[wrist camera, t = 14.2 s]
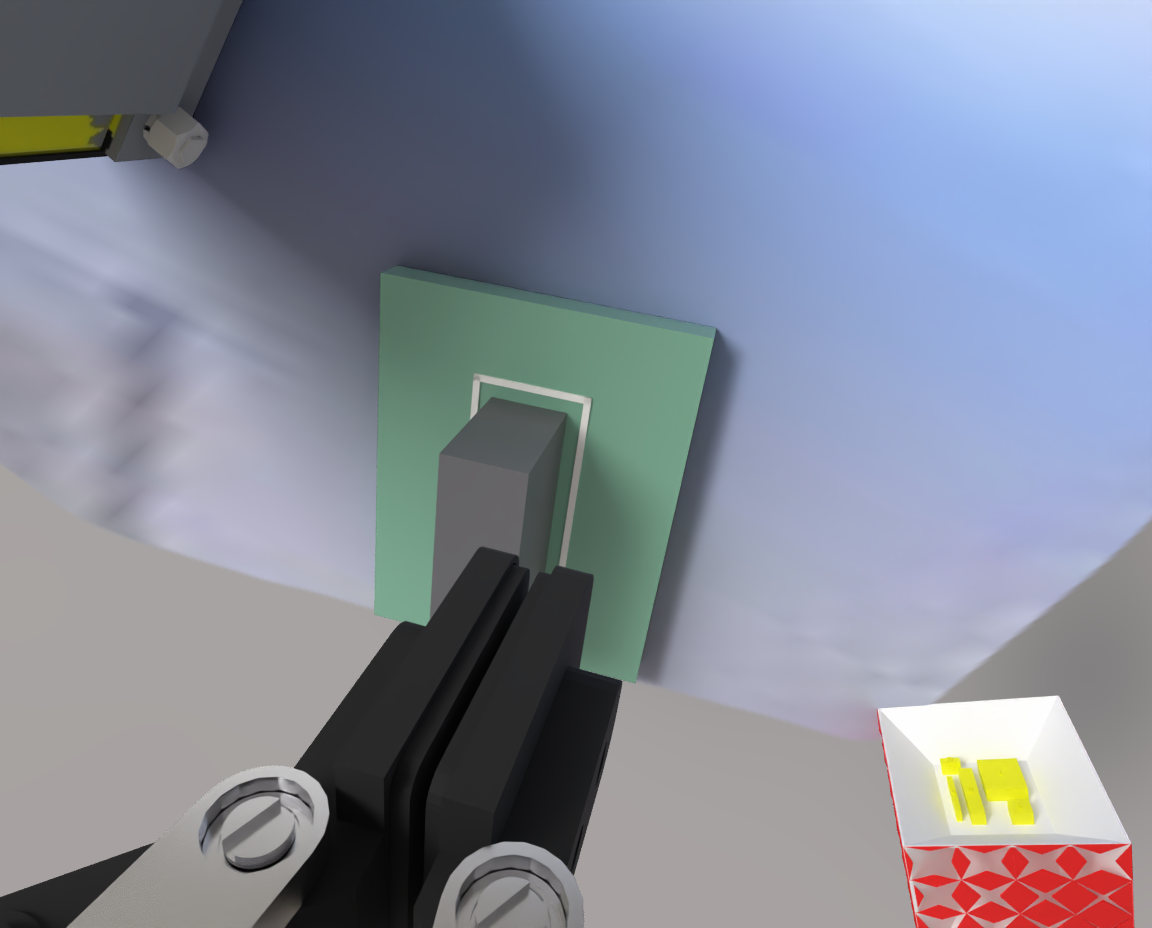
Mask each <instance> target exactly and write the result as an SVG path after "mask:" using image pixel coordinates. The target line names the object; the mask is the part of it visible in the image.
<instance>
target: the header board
mask: <svg viewBox="0 0 1152 928" xmlns="http://www.w3.org/2000/svg"><path fill="white" fill-rule="evenodd" d="M715 332H716V328H714V327H709V326H704V325H699V324H694V323H689V322H684V321H678V320H673V319H668V318H663V317H658V316H653V315H648V314H643V313H638V312H632V311H627V310H622V309H617V308H612V307H607V306H602V305H597V304H592V303H586V302H581V301H576V300H571V299H566V298H561V297H556V296H551V295H546V294H541V293H535V292H530V291H525V290H520V289H515V288H510V287H505V286H500V285H495V284H489V283H484V282H479V281H474V280H469V279H464V278H459V277H454V276H449V275H444V274H438V273H433V272H428V271H423V270H418V269H413V268H408V267H403V266H398V265H397V266H394V267H392V268H390V269H388V270H385V271H383V272H381V273H380V327H379V383H378V438H377V494H376V549H375V605H374V614H375V615H378V616H382V617H385V618H389V619H393V620H397V621H400V622H404V621H408V622H412V623H416V624H419V625H423V626H426V625H427V624H428V622H429V621H430V605H431V588H432V571H433V553H434V536H435V519H436V502H437V484H438V467H439V453H440V452H441V451H442V450H443V449H444V448H445V447H446V446H447V445H448V444H449V442H450V441H451V440H452V439H453V438H454V437H455V436H456V435H457V434H458V433H459V432H460V430H461V429H462V428H463V427H464V426H465V425H466V424H467V423H468V422H469V421H470V420H471V419H472V417H473V416H474V415H475V414H476V413H477V412H478V411H479V410H480V409H481V408H482V407H483V406H484V404H485V403H486V402H487V401H488V400H489V399H490V398H491V397H495V398H499V399H504V400H509V401H513V402H518V403H523V404H527V405H532V406H537V407H541V408H546V409H551V410H555V411H560V412H565V413H567V419H566V426H565V433H564V440H563V447H562V455H561V462H560V469H559V476H558V483H557V490H556V497H555V504H554V512H553V519H552V526H551V533H550V540H549V547H548V554H547V561H546V568H545V573H548V574H551V573H552V571H553V569H554V568H555V566H557V565H558V566H562V567H566V568H570V569H574V570H577V571H581V572H585V573H589V574H593V575H594V581H593V589H592V595H591V601H590V607H589V613H588V620H587V626H586V632H585V638H584V645H583V651H582V657H581V663H580V669H582V670H586V671H590V672H594V673H598V674H601V675H605V676H609V677H613V678H617V679H620V680H624V681H628V682H632V683H636V679H637V675H638V670H639V666H640V661H641V657H642V653H643V648H644V644H645V640H646V635H647V631H648V626H649V622H650V618H651V613H652V609H653V605H654V600H655V596H656V591H657V587H658V583H659V578H660V574H661V569H662V565H663V561H664V556H665V552H666V548H667V543H668V539H669V534H670V530H671V526H672V521H673V517H674V513H675V508H676V504H677V499H678V495H679V491H680V486H681V482H682V477H683V473H684V469H685V464H686V460H687V456H688V451H689V447H690V442H691V438H692V434H693V429H694V425H695V421H696V416H697V412H698V407H699V403H700V399H701V394H702V390H703V385H704V381H705V377H706V372H707V368H708V364H709V359H710V355H711V350H712V346H713V342H714V337H715Z"/></svg>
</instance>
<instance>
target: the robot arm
mask: <svg viewBox="0 0 1152 928" xmlns="http://www.w3.org/2000/svg"><path fill="white" fill-rule="evenodd" d="M529 580H530V570H529V569H528V568H525V567H521V566H519V557H518V556H517V555H515V554H511V553H507V552H503V551H499V550H495V549H491V548H487V547H483V546H482V547H479V548H478V550H477V551H476V552H475V554H474V555H473V557H472V558H471V560H470V561H469V563H468V564H467V566H466V567H465V569H464V570H463V572H462V573H461V574H460V576H459V577H458V579H457V580H456V582H455V583H454V585H453V586H452V588H451V589H450V591H449V592H448V594H447V595H446V597H445V598H444V600H443V601H442V603H441V604H440V606H439V607H438V609H437V610H436V612H435V613H434V615H433V616H432V618H431V619H430V621H429V622H428V624H427V625H426V626H423V625H419V624H416V623H412V622H408V621H404V622H402V623H400V624H399V625H398V626H397V627H396V628H395V630H394V631H393V632H392V633H391V635H390V636H389V638H388V639H387V640H386V642H385V643H384V644H383V646H382V647H381V649H380V650H379V652H378V653H377V654H376V656H375V657H374V658H373V660H372V661H371V662H370V664H369V665H368V667H367V668H366V669H365V671H364V672H363V674H362V675H361V676H360V678H359V679H358V680H357V682H356V683H355V685H354V686H353V687H352V689H351V690H350V691H349V693H348V694H347V695H346V697H345V698H344V700H343V701H342V702H341V704H340V705H339V706H338V708H337V709H336V711H335V712H334V714H333V715H332V716H331V718H330V719H329V721H328V722H327V723H326V725H325V726H324V727H323V729H322V730H321V731H320V733H319V734H318V736H317V737H316V738H315V740H314V741H313V743H312V744H311V745H310V746H309V748H308V749H307V751H306V752H305V753H304V755H303V756H302V758H301V759H300V760H299V762H298V763H297V765H296V766H295V767H294V768H291V767H287V766H262V767H258V768H253V769H249V770H244V771H242V772H240V773H238V774H236V775H234V776H231V777H229V778H227V779H225V780H223V781H222V782H220V783H219V784H218V785H216V787H214V788H213V789H211V790H210V791H209V792H207V793H206V794H205V795H204V796H203V797H202V798H201V799H200V800H199V801H198V802H196V803H195V804H194V805H193V806H192V807H191V808H190V809H189V810H188V811H187V812H186V813H185V814H184V815H183V816H182V817H181V818H180V819H179V820H178V821H177V822H176V823H175V824H174V825H173V826H172V827H170V828H169V829H168V830H167V831H166V832H165V833H164V834H163V835H162V836H161V837H160V838H159V839H158V840H157V841H156V842H155V843H152V844H149V845H146V846H143V847H140V848H138V849H135V850H132V851H129V852H126V853H123V854H121V855H118V856H115V857H112V858H109V859H107V860H104V861H101V862H98V863H96V864H93V865H90V866H87V867H84V868H81V869H78V870H76V871H73V872H70V873H67V874H64V875H62V876H59V877H56V878H53V879H50V880H48V881H45V882H42V883H39V884H36V885H34V886H31V887H28V888H25V889H22V890H19V891H17V892H14V893H11V894H8V895H5V896H3V897H0V928H583V927H584V910H583V897H582V895H581V892H580V890H579V887H578V884H577V882H576V879H575V877H574V873H575V869H576V866H577V862H578V859H579V855H580V851H581V848H582V844H583V841H584V837H585V833H586V830H587V826H588V823H589V819H590V816H591V812H592V809H593V805H594V801H595V798H596V794H597V791H598V787H599V783H600V780H601V776H602V772H603V769H604V764H605V760H606V757H607V752H608V749H609V745H610V740H611V736H612V731H613V727H614V722H615V718H616V713H617V708H618V703H619V698H620V693H621V687H622V681H621V680H618V679H614V678H611V677H607V676H603V675H600V674H596V673H592V672H589V671H585V670H582V669H580V663H581V657H582V651H583V645H584V638H585V632H586V626H587V620H588V613H589V607H590V601H591V595H592V589H593V581H594V575H593V574H589V573H585V572H581V571H577V570H574V569H570V568H566V567H562V566H558V565H557V566H555V568H554V569H553V571H552V573H551V574H548V573H544V572H539V573H538V574H537V576H536V578H535V580H534V582H533V584H532V586H531V588H530V589H529ZM528 589H529V591H528Z"/></svg>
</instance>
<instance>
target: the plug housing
mask: <svg viewBox="0 0 1152 928" xmlns="http://www.w3.org/2000/svg"><path fill="white" fill-rule="evenodd" d="M566 419H567V413H565V412H560V411H555V410H551V409H546V408H541V407H537V406H532V405H527V404H523V403H518V402H513V401H509V400H504V399H499V398H495V397H491V398H490V399H489V400H488V401H487V402H486V403H485V404H484V406H483V407H482V408H481V409H480V410H479V411H478V412H477V413H476V414H475V415H474V416H473V417H472V419H471V420H470V421H469V422H468V423H467V424H466V425H465V426H464V427H463V428H462V429H461V430H460V432H459V433H458V434H457V435H456V436H455V437H454V438H453V439H452V440H451V441H450V442H449V444H448V445H447V446H446V447H445V448H444V449H443V450H442V451H441V452H440V453H439V467H438V484H437V502H436V519H435V536H434V553H433V571H432V588H431V605H430V619H431V618H432V616H433V615H434V613H435V612H436V610H437V609H438V607H439V606H440V604H441V603H442V601H443V600H444V598H445V597H446V595H447V594H448V592H449V591H450V589H451V588H452V586H453V585H454V583H455V582H456V580H457V579H458V577H459V576H460V574H461V573H462V572H463V570H464V569H465V567H466V566H467V564H468V563H469V561H470V560H471V558H472V557H473V555H474V554H475V552H476V551H477V550H478V548H479V547H482V546H483V547H487V548H491V549H495V550H499V551H503V552H507V553H511V554H515V555H517V556H518V557H519V566H521V567H525V568H528V569H529V570H530V580H529V589H530V588H531V586H532V584H533V582H534V580H535V578H536V576H537V574H538V573H539V572H544V573H545V568H546V561H547V554H548V547H549V540H550V533H551V526H552V519H553V512H554V504H555V497H556V490H557V483H558V476H559V469H560V462H561V455H562V447H563V440H564V433H565V426H566ZM529 589H528V591H529Z"/></svg>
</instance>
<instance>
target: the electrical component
mask: <svg viewBox="0 0 1152 928" xmlns="http://www.w3.org/2000/svg"><path fill="white" fill-rule="evenodd" d="M242 2H243V0H0V165H8V164H19V163H31V162H43V161H55V160H67V159H79V158H90V157H102V156H109V157H110V158H111V159H112V160H113V161H114V162H121V161H131V160H142V159H153V158H163V157H164V158H165V159H166V160H167V161H169V162H170V163H171V164H172V165H173V166H175V167H176V168H177V169H180V168H183V167H186V166H189V165H190V164H191V163H193V162H194V161H195V160H196V159H198V157H199V156H200V154H201V153H202V151H203V150H204V148H205V147H206V145H207V140H208V136H209V133H208V132H207V131H206V130H205V129H204V127H203V126H202V125H201V124H200V123H199V122H197V121H196V120H195V119H194V118H193V117H192V116H193V114H194V112H195V109H196V107H197V105H198V102H199V100H200V98H201V96H202V93H203V91H204V89H205V86H206V84H207V82H208V80H209V77H210V75H211V73H212V70H213V68H214V66H215V63H216V61H217V59H218V57H219V54H220V52H221V50H222V47H223V45H224V43H225V41H226V38H227V36H228V34H229V31H230V29H231V27H232V24H233V22H234V20H235V18H236V15H237V13H238V11H239V8H240V6H241V4H242Z"/></svg>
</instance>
